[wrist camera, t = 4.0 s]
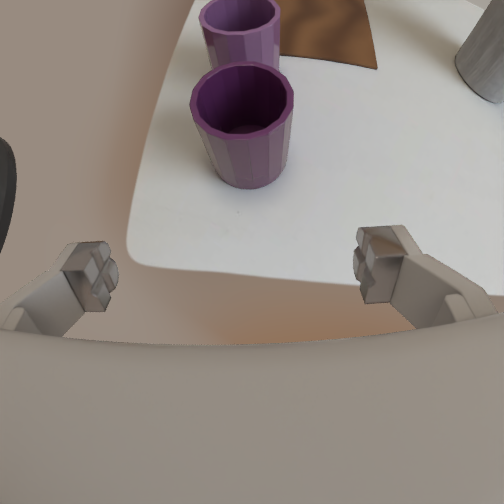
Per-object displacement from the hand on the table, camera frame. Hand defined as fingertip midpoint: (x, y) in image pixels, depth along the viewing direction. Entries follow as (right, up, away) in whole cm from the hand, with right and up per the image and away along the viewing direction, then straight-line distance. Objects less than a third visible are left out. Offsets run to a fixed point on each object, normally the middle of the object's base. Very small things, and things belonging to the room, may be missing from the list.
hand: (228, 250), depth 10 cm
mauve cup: (0, +20, +22) cm, 30 cm away
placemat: (+7, +32, +23) cm, 40 cm away
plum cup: (0, +10, +20) cm, 22 cm away
